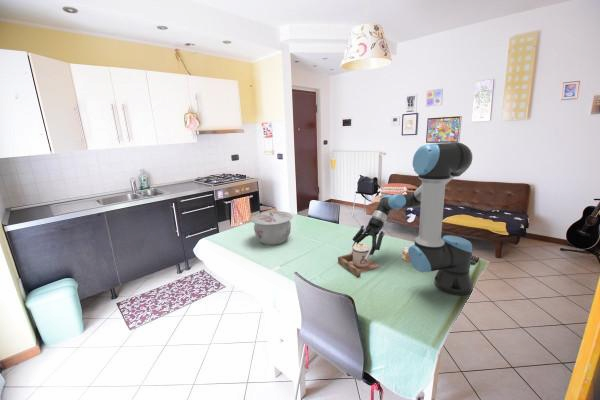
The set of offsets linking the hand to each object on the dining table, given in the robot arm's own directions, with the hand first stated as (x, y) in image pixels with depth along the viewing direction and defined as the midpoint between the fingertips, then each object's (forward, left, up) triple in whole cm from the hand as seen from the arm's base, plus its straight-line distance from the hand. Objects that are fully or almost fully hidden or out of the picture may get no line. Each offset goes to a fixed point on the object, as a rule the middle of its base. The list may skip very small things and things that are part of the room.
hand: (358, 256), depth 146 cm
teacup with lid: (+1, -3, -4) cm, 6 cm away
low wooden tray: (+1, -2, -6) cm, 6 cm away
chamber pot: (+58, +27, -6) cm, 64 cm away
